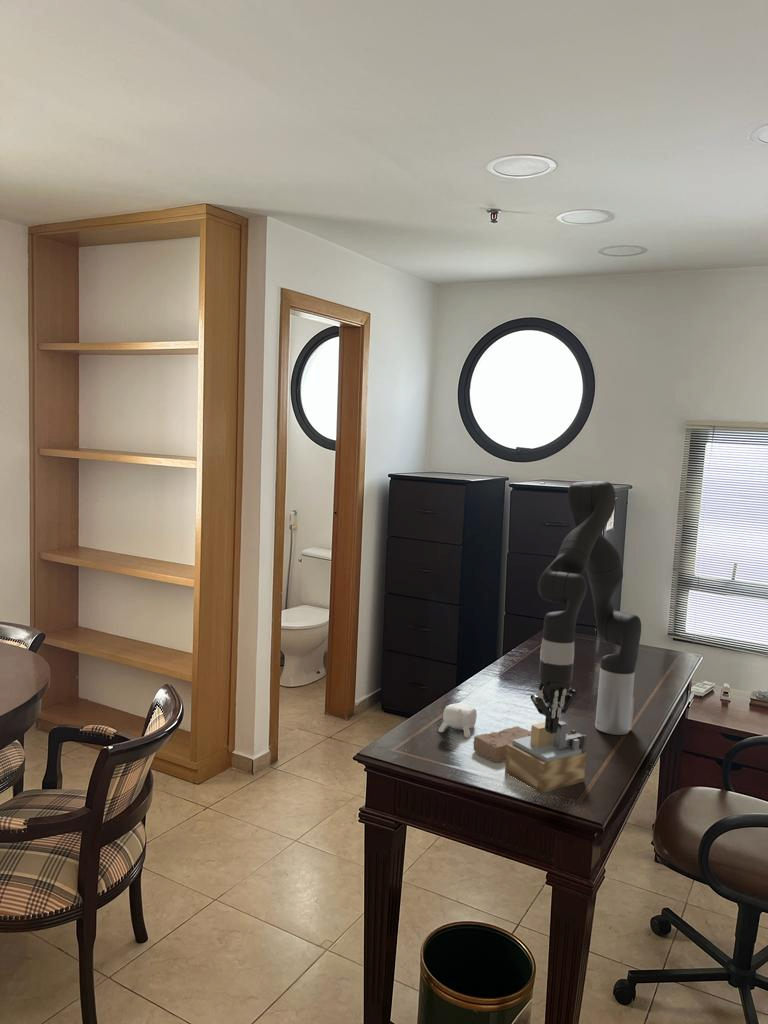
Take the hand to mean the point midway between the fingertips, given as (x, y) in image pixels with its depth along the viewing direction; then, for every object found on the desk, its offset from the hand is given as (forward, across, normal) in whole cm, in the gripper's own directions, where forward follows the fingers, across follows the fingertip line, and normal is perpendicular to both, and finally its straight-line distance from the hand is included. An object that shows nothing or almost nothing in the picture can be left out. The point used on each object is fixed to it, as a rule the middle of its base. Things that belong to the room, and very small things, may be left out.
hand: (551, 731), depth 179 cm
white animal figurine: (+13, -1, -35) cm, 37 cm away
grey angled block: (+4, -6, 0) cm, 7 cm away
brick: (+13, -5, -19) cm, 24 cm away
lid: (+6, -3, -3) cm, 7 cm away
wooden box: (+13, -2, -3) cm, 13 cm away
